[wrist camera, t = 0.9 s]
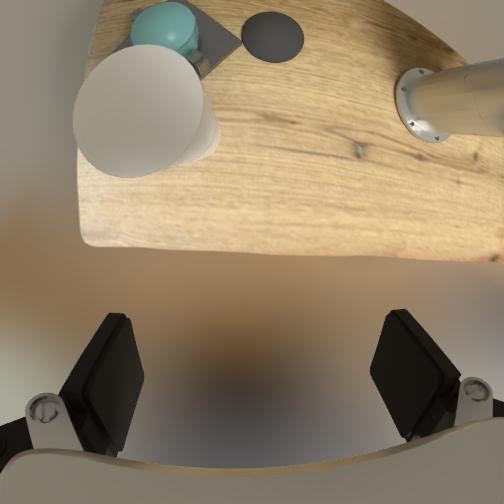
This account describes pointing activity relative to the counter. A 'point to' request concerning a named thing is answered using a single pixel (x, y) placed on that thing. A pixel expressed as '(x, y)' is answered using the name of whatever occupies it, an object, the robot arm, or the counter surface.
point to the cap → (166, 28)
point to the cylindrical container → (144, 113)
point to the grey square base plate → (202, 41)
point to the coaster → (273, 37)
